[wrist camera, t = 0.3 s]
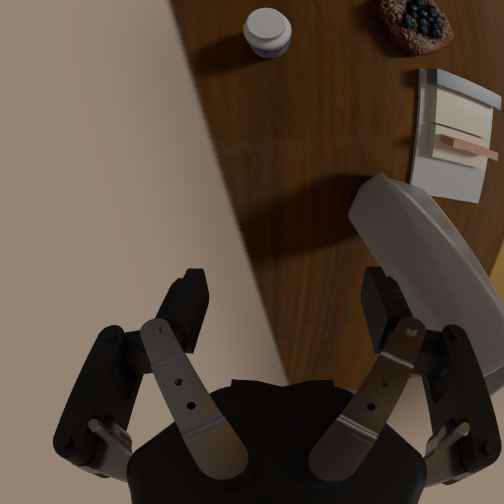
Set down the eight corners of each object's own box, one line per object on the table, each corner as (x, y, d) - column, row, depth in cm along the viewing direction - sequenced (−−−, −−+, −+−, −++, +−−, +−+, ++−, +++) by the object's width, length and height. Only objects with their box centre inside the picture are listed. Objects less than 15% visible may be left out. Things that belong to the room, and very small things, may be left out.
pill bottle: (272, 65, 30) (269, 54, 22) (241, 43, 29) (228, 27, 21) (297, 40, 28) (303, 21, 20) (266, 18, 26) (262, -5, 18)
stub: (430, 123, 30) (449, 128, 26) (483, 139, 29) (503, 147, 24) (427, 154, 33) (445, 163, 28) (479, 167, 32) (498, 177, 27)
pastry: (359, 6, 23) (371, -6, 18) (411, -15, 19) (427, -25, 14) (405, 65, 27) (423, 63, 22) (452, 40, 22) (472, 37, 18)
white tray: (418, 67, 27) (431, 66, 23) (490, 96, 25) (504, 98, 22) (407, 190, 37) (417, 200, 34) (475, 201, 36) (487, 211, 33)
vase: (423, 206, 38) (543, 364, 10) (371, 244, 43) (441, 432, 15) (389, 146, 34) (564, 286, 6) (331, 190, 39) (410, 401, 11)
